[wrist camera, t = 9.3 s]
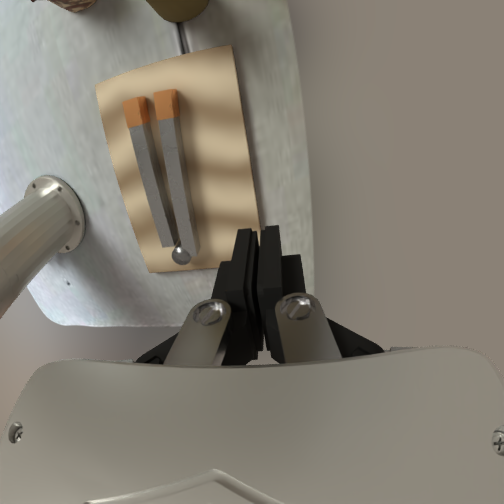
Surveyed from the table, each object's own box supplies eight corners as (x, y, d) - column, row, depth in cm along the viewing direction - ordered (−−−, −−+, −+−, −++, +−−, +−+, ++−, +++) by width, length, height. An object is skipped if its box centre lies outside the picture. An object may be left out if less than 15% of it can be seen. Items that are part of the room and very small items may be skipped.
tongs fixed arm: (180, 237, 35) (175, 246, 33) (166, 239, 35) (161, 248, 33) (145, 96, 26) (137, 96, 24) (130, 100, 26) (122, 101, 24)
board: (264, 258, 37) (264, 263, 36) (152, 267, 39) (149, 272, 38) (232, 46, 24) (230, 44, 23) (100, 84, 26) (94, 84, 25)
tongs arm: (203, 255, 36) (199, 265, 34) (178, 256, 36) (173, 265, 34) (176, 88, 25) (170, 89, 23) (147, 94, 25) (139, 95, 24)
